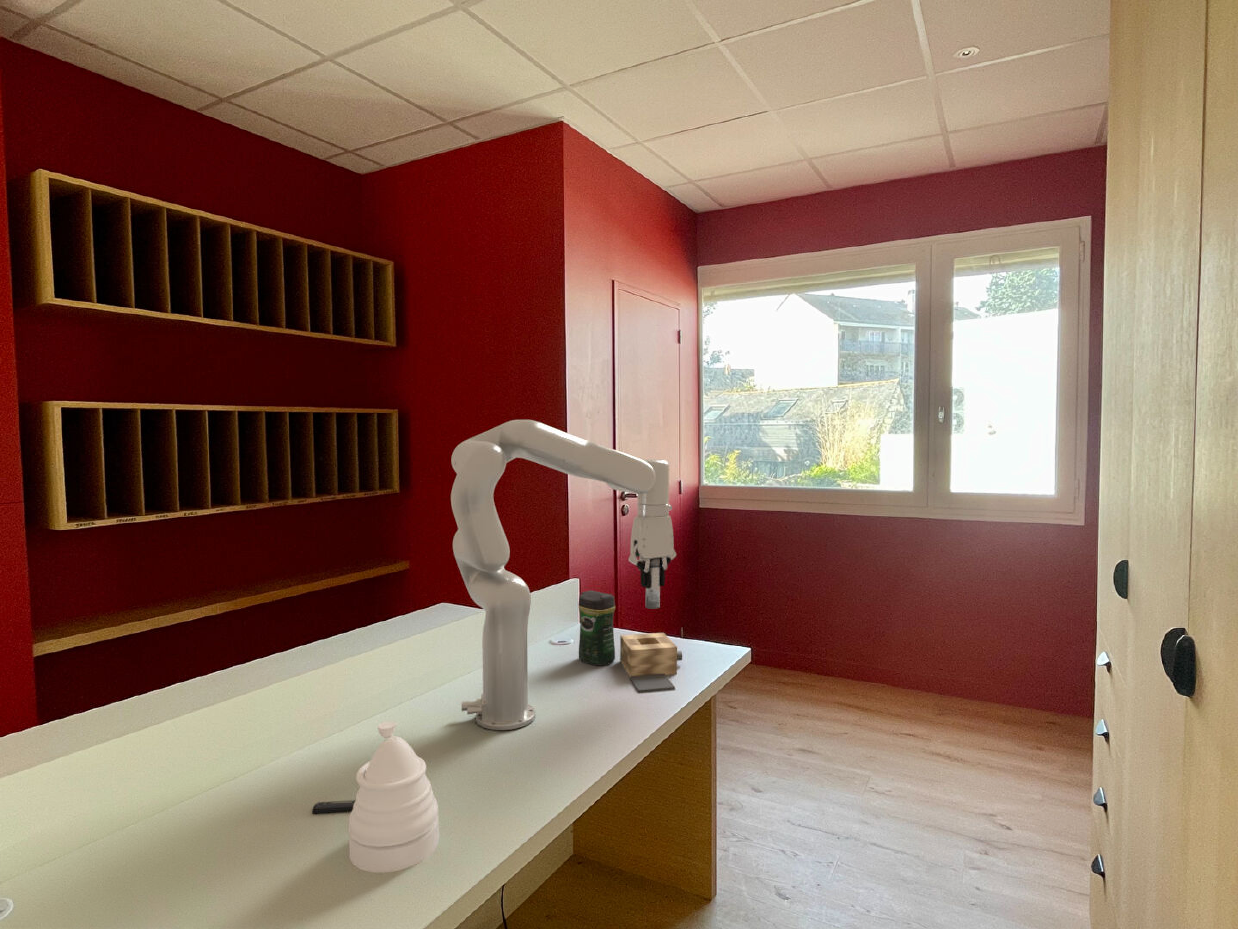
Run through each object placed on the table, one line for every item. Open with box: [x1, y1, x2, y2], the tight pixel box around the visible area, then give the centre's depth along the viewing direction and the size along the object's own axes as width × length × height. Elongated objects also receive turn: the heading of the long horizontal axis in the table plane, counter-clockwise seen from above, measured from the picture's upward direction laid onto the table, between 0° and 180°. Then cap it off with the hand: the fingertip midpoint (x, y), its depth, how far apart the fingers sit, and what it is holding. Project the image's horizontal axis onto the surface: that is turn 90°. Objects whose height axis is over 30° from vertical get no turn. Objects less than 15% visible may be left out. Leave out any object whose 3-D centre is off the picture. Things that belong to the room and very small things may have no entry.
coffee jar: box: [578, 589, 616, 666], centre depth 183 cm, size 10×8×19 cm
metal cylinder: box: [645, 558, 661, 610], centre depth 166 cm, size 3×3×12 cm
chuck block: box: [619, 632, 683, 677], centre depth 179 cm, size 15×12×7 cm
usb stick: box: [311, 799, 356, 816], centre depth 113 cm, size 10×3×2 cm, turn 98°
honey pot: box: [348, 720, 440, 874], centre depth 103 cm, size 13×13×18 cm
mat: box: [629, 674, 676, 693], centre depth 167 cm, size 9×9×1 cm
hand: (652, 585), depth 166 cm, fingers closed on metal cylinder, 3 cm apart
